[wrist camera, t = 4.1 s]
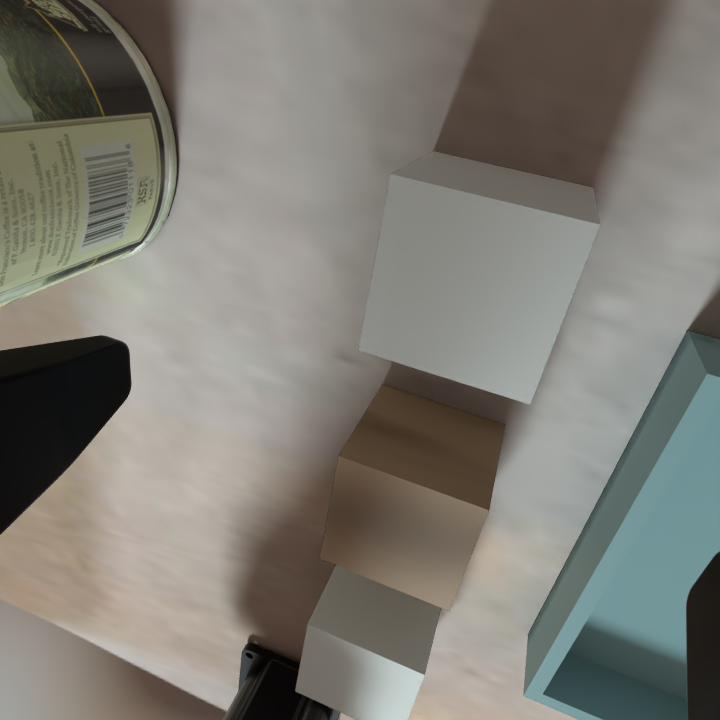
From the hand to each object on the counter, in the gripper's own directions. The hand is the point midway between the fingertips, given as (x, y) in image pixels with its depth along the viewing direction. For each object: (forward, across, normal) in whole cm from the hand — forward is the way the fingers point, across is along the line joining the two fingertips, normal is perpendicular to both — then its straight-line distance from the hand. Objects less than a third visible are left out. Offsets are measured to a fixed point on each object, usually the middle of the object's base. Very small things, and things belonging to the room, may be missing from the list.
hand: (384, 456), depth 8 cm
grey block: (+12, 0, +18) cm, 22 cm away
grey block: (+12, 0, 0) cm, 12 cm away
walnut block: (+12, 0, +9) cm, 15 cm away
